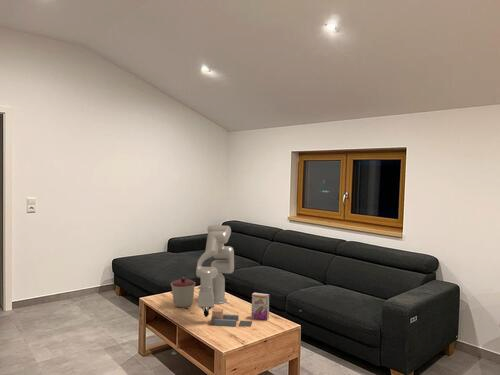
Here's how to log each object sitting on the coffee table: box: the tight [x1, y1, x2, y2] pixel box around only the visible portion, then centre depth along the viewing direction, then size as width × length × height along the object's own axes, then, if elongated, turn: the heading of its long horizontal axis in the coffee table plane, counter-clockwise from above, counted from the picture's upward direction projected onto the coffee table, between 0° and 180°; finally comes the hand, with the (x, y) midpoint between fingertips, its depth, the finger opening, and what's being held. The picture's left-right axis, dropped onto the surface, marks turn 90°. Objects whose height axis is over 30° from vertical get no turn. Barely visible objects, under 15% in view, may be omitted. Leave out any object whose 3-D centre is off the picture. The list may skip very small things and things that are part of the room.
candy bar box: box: [251, 292, 270, 321], centre depth 263 cm, size 11×5×16 cm, turn 71°
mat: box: [238, 320, 253, 328], centre depth 254 cm, size 9×8×1 cm
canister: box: [170, 276, 196, 308], centre depth 287 cm, size 18×18×21 cm
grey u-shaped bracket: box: [210, 313, 240, 327], centre depth 255 cm, size 11×16×6 cm
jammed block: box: [211, 307, 224, 319], centre depth 256 cm, size 6×6×8 cm
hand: (206, 316), depth 257 cm, fingers closed
